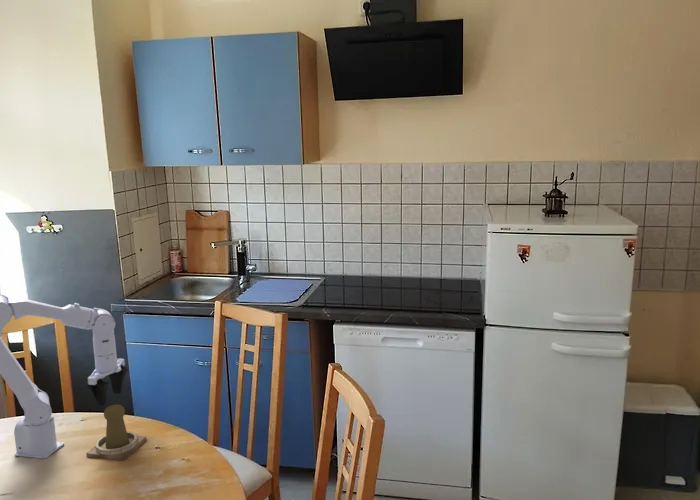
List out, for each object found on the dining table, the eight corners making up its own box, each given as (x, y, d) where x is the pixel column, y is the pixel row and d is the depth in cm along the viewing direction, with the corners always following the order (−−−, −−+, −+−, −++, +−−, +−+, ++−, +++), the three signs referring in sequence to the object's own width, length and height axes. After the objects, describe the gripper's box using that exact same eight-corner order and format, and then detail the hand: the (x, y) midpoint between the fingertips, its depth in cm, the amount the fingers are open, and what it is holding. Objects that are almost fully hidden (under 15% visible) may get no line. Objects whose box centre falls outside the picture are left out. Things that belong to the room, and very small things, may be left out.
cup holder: (86, 456, 157) (85, 449, 157) (110, 436, 168) (110, 429, 167) (124, 460, 155) (123, 452, 154) (146, 439, 165) (145, 432, 165)
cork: (122, 450, 158) (119, 412, 156) (101, 449, 158) (97, 411, 156) (133, 439, 164) (129, 402, 162) (112, 438, 164) (108, 401, 162)
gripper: (102, 363, 157) (107, 411, 160) (132, 344, 171) (136, 389, 174) (78, 361, 159) (84, 409, 161) (110, 343, 173) (114, 387, 175)
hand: (109, 398), depth 168 cm, fingers open, 7 cm apart
